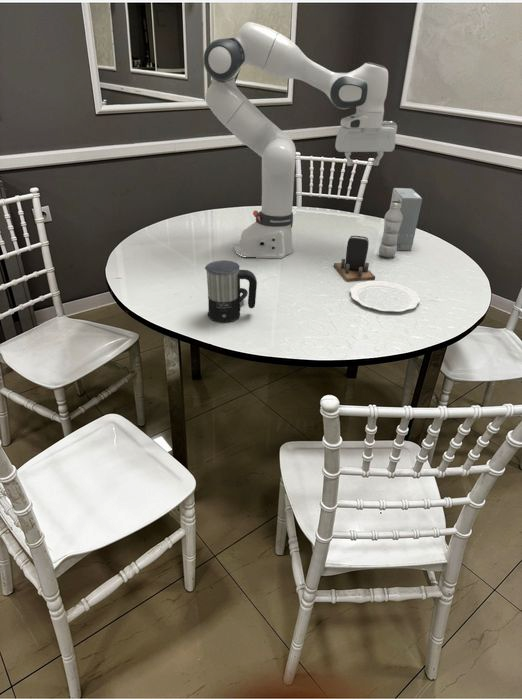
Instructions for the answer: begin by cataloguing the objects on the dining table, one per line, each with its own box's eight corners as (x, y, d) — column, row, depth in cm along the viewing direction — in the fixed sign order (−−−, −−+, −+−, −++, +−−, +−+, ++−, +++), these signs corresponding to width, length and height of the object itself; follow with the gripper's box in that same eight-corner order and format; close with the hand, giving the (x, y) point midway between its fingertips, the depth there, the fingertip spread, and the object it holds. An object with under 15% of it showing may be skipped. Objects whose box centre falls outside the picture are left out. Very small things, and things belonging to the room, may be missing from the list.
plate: (406, 322, 134) (407, 317, 133) (338, 303, 143) (339, 298, 142) (426, 296, 149) (427, 291, 148) (364, 279, 158) (365, 275, 157)
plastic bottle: (397, 254, 177) (407, 201, 166) (393, 260, 172) (404, 205, 161) (380, 251, 179) (389, 198, 168) (375, 257, 174) (385, 203, 163)
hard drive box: (411, 251, 180) (423, 198, 170) (391, 250, 181) (401, 198, 170) (402, 237, 194) (412, 187, 183) (383, 236, 194) (392, 187, 183)
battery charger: (365, 268, 162) (370, 235, 156) (364, 272, 159) (369, 239, 153) (344, 265, 164) (349, 233, 157) (343, 269, 160) (347, 237, 154)
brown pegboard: (346, 281, 155) (348, 269, 153) (333, 266, 166) (334, 254, 164) (374, 279, 157) (376, 268, 155) (360, 264, 168) (362, 253, 165)
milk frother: (212, 325, 129) (210, 275, 121) (197, 300, 141) (194, 253, 133) (260, 317, 133) (262, 268, 125) (242, 293, 145) (242, 248, 137)
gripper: (394, 119, 158) (386, 163, 166) (336, 119, 154) (331, 163, 162) (402, 122, 153) (394, 167, 160) (342, 122, 149) (337, 167, 157)
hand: (362, 165), depth 161 cm, fingers open, 8 cm apart
